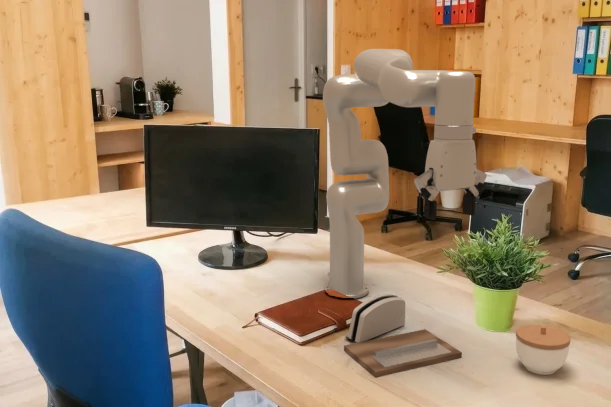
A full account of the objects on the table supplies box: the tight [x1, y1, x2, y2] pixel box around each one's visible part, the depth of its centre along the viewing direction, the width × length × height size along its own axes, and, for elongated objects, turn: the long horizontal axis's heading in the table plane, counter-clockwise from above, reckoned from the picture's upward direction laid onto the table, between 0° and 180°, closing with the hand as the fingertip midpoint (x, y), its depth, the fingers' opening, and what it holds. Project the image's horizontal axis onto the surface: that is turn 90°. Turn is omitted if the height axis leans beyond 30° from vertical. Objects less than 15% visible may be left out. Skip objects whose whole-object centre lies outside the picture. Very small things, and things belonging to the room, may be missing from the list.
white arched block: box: [344, 293, 406, 343], centre depth 149 cm, size 17×5×10 cm, turn 132°
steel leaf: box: [371, 339, 451, 368], centre depth 136 cm, size 6×17×1 cm, turn 114°
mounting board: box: [343, 328, 463, 378], centre depth 139 cm, size 14×22×1 cm, turn 114°
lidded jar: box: [515, 324, 571, 376], centre depth 132 cm, size 11×11×9 cm
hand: (449, 216), depth 129 cm, fingers open, 9 cm apart
